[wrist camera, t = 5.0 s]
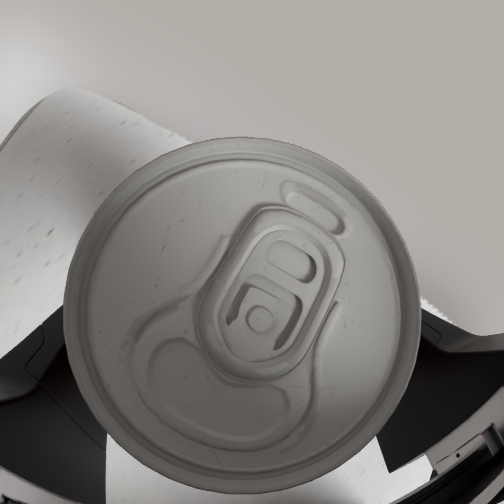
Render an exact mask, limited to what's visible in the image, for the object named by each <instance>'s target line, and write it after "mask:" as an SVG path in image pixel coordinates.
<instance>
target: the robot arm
mask: <svg viewBox="0 0 504 504" xmlns="http://www.w3.org/2000/svg"><path fill="white" fill-rule="evenodd" d="M376 437H377V440H378V443H379V446H380V449H381V452H382V454H383V457H384V460H385V463H386V466H387V469H388V472H389V473H392V472H394V471H396V470H398V469H400V468H402V467H404V466H406V465H408V464H409V463H411V462H413V461H415V460H417V459H418V458H420V457H422V456H424V455H425V454H426V456H427V458H428V460H429V462H430V464H431V466H432V468H433V471H432V474H431V477H430V480H429V481H428V482H427V483H425V484H424V485H422V486H420V487H419V488H417V489H415V490H414V491H412V492H410V493H408V494H406V495H405V496H403V497H401V498H399V499H397V500H395V501H393V502H391V503H389V504H497V503H499V502H502V501H503V500H504V333H501V334H495V335H488V336H478V335H474V334H471V333H469V332H467V331H465V330H463V329H461V328H459V327H457V326H455V325H453V324H451V323H449V322H447V321H445V320H443V319H441V318H439V317H437V316H435V315H433V314H431V313H429V312H428V311H426V310H424V309H422V308H421V332H420V342H419V347H418V352H417V357H416V362H415V366H414V369H413V372H412V375H411V377H410V380H409V383H408V386H407V388H406V390H405V392H404V394H403V396H402V398H401V400H400V402H399V404H398V405H397V407H396V409H395V411H394V412H393V414H392V415H391V417H390V418H389V419H388V421H387V422H386V423H385V425H384V426H383V427H382V429H381V430H380V431H379V433H378V434H377V435H376ZM106 443H107V431H106V430H105V429H104V428H103V427H102V426H101V424H100V423H99V422H98V421H97V419H96V418H95V416H94V415H93V413H92V411H91V410H90V408H89V406H88V405H87V403H86V401H85V400H84V398H83V396H82V394H81V392H80V390H79V388H78V385H77V382H76V380H75V377H74V375H73V372H72V369H71V366H70V363H69V359H68V354H67V349H66V343H65V337H64V329H63V305H62V306H61V307H60V308H59V309H57V310H56V311H55V312H54V313H53V314H52V315H50V316H49V317H48V318H47V319H46V320H45V321H44V322H43V323H42V325H39V326H38V327H37V328H36V329H35V330H34V331H33V332H32V333H30V334H29V335H28V336H27V337H26V338H25V339H24V340H23V341H21V342H20V343H19V344H18V345H17V346H15V347H14V348H13V349H12V350H11V351H9V352H8V353H7V354H6V355H4V356H3V357H2V358H1V359H0V504H106V452H105V451H106Z"/></svg>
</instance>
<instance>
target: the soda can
mask: <svg viewBox="0 0 504 504" xmlns="http://www.w3.org/2000/svg"><path fill="white" fill-rule="evenodd" d="M63 329H64V337H65V343H66V349H67V354H68V359H69V363H70V366H71V369H72V372H73V375H74V377H75V380H76V382H77V385H78V388H79V390H80V392H81V394H82V396H83V398H84V400H85V401H86V403H87V405H88V406H89V408H90V410H91V411H92V413H93V415H94V416H95V418H96V419H97V421H98V422H99V423H100V424H101V426H102V427H103V428H104V429H105V430H106V431H107V433H108V434H109V435H110V436H111V437H112V438H113V439H114V441H115V442H116V443H117V444H118V445H119V446H121V447H122V448H123V449H124V450H125V451H127V452H128V453H129V454H130V455H132V456H133V457H134V458H135V459H137V460H138V461H139V462H140V463H142V464H143V465H145V466H147V467H148V468H150V469H152V470H154V471H155V472H157V473H159V474H161V475H163V476H165V477H167V478H169V479H171V480H173V481H176V482H179V483H182V484H185V485H188V486H191V487H194V488H197V489H201V490H206V491H212V492H218V493H224V494H262V493H268V492H275V491H280V490H286V489H289V488H292V487H295V486H299V485H302V484H304V483H307V482H310V481H313V480H315V479H317V478H319V477H321V476H323V475H325V474H327V473H329V472H331V471H333V470H334V469H336V468H338V467H339V466H341V465H342V464H344V463H345V462H346V461H348V460H349V459H350V458H352V457H353V456H354V455H356V454H357V453H358V452H360V451H361V450H362V449H363V448H364V447H365V446H366V445H367V444H368V443H369V442H370V441H371V440H372V439H373V438H374V437H375V436H376V435H377V434H378V433H379V431H380V430H381V429H382V427H383V426H384V425H385V423H386V422H387V421H388V419H389V418H390V417H391V415H392V414H393V412H394V411H395V409H396V407H397V405H398V404H399V402H400V400H401V398H402V396H403V394H404V392H405V390H406V388H407V386H408V383H409V380H410V377H411V375H412V372H413V369H414V366H415V362H416V357H417V352H418V347H419V342H420V332H421V302H420V292H419V286H418V281H417V277H416V272H415V268H414V264H413V262H412V259H411V256H410V253H409V251H408V248H407V246H406V243H405V241H404V239H403V237H402V235H401V233H400V232H399V230H398V228H397V226H396V224H395V223H394V221H393V219H392V218H391V216H390V215H389V214H388V213H387V211H386V210H385V208H384V207H383V206H382V204H381V203H380V202H379V200H378V199H377V198H376V197H375V196H374V195H373V194H372V193H371V192H370V191H369V190H368V189H367V188H366V187H365V186H364V185H363V184H362V183H361V182H360V181H359V180H357V179H356V178H355V177H353V176H352V175H351V174H350V173H348V172H347V171H346V170H344V169H343V168H342V167H340V166H338V165H337V164H335V163H333V162H331V161H330V160H328V159H326V158H324V157H322V156H321V155H319V154H317V153H314V152H312V151H309V150H307V149H304V148H302V147H299V146H296V145H293V144H289V143H285V142H281V141H276V140H271V139H264V138H253V137H230V138H217V139H211V140H206V141H202V142H198V143H193V144H189V145H186V146H183V147H181V148H178V149H176V150H173V151H171V152H169V153H166V154H164V155H161V156H160V157H158V158H156V159H155V160H153V161H151V162H150V163H148V164H146V165H145V166H143V167H141V168H140V169H138V170H137V171H135V172H134V173H133V174H132V175H131V176H129V177H128V178H127V179H126V180H125V181H124V182H122V183H121V184H120V185H119V186H118V187H117V188H116V189H114V191H113V192H112V193H111V194H110V195H109V196H108V198H107V199H106V200H105V201H104V202H103V204H102V205H101V206H100V207H99V208H98V210H97V211H96V212H95V214H94V215H93V217H92V219H91V220H90V222H89V224H88V225H87V227H86V229H85V231H84V232H83V234H82V236H81V238H80V240H79V242H78V245H77V247H76V250H75V253H74V256H73V258H72V261H71V264H70V267H69V271H68V276H67V281H66V287H65V293H64V300H63Z"/></svg>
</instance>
